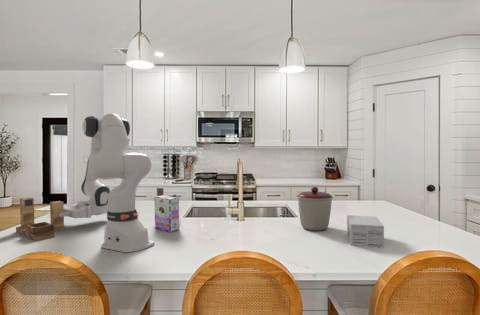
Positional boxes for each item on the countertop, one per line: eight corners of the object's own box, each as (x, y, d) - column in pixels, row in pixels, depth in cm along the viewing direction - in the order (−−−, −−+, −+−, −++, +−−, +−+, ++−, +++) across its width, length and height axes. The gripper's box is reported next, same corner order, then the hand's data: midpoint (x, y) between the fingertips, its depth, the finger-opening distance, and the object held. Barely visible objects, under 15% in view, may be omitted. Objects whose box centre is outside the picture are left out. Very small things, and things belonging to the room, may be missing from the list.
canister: (289, 228, 157) (289, 187, 157) (308, 222, 171) (308, 183, 170) (322, 235, 145) (322, 190, 144) (339, 227, 158) (339, 186, 158)
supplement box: (346, 234, 147) (346, 214, 147) (376, 236, 144) (376, 216, 143) (350, 245, 131) (350, 223, 130) (384, 248, 127) (384, 225, 127)
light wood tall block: (64, 229, 158) (63, 201, 158) (54, 231, 155) (53, 203, 154) (59, 227, 161) (59, 200, 161) (50, 229, 158) (49, 202, 157)
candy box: (179, 230, 155) (179, 197, 155) (169, 232, 151) (169, 199, 150) (164, 225, 165) (163, 194, 164) (154, 227, 160) (154, 196, 160)
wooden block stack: (54, 236, 145) (53, 201, 144) (34, 241, 138) (33, 204, 138) (34, 228, 159) (33, 196, 159) (16, 232, 153) (15, 198, 152)
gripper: (73, 201, 174) (46, 205, 163) (92, 205, 161) (63, 210, 151) (74, 212, 174) (46, 217, 163) (92, 217, 162) (64, 223, 151)
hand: (55, 214), depth 157 cm, fingers open, 7 cm apart
